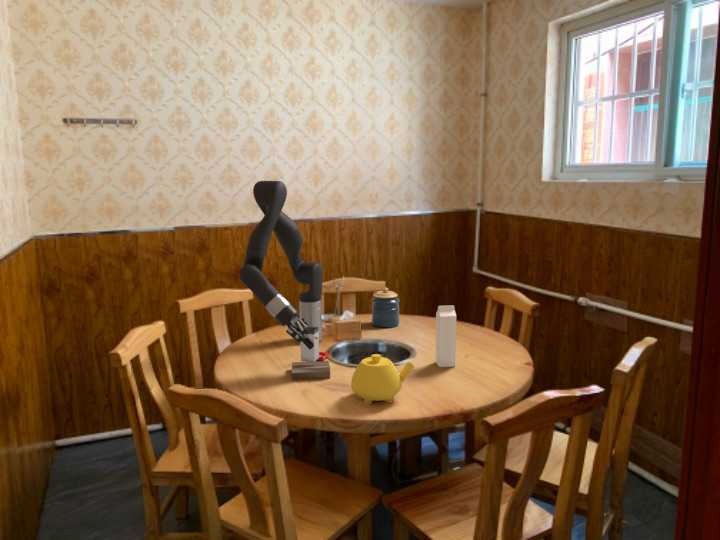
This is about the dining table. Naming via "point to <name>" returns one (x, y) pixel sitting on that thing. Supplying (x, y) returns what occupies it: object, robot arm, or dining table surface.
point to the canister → (385, 309)
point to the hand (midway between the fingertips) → (314, 345)
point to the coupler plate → (310, 370)
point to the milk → (446, 336)
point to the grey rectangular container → (313, 336)
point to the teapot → (378, 379)
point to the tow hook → (322, 356)
